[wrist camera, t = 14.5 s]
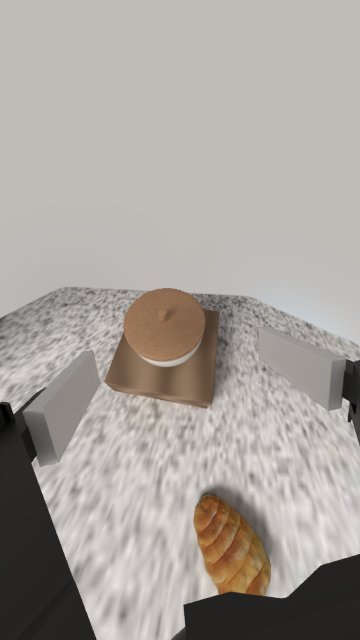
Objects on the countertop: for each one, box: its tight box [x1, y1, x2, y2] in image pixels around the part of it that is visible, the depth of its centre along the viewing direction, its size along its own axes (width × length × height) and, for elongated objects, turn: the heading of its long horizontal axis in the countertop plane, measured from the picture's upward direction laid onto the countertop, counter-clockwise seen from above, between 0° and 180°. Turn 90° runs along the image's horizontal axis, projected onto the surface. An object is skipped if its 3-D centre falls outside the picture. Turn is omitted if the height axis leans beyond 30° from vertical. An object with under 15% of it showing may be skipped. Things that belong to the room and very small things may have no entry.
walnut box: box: [104, 299, 219, 408], centre depth 34 cm, size 16×16×6 cm
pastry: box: [193, 494, 271, 596], centre depth 22 cm, size 9×7×4 cm
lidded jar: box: [124, 288, 205, 367], centre depth 27 cm, size 11×11×9 cm
